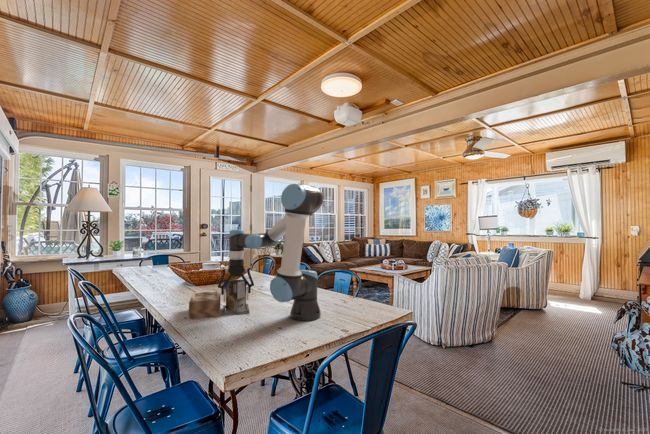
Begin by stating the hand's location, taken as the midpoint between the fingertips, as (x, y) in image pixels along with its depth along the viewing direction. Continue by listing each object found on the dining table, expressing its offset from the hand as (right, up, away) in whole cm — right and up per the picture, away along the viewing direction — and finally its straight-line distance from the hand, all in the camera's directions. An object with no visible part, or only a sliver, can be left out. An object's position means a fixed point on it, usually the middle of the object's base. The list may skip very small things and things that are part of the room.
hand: (236, 300), depth 165 cm
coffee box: (0, -6, 0) cm, 6 cm away
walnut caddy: (-7, -5, -2) cm, 9 cm away
